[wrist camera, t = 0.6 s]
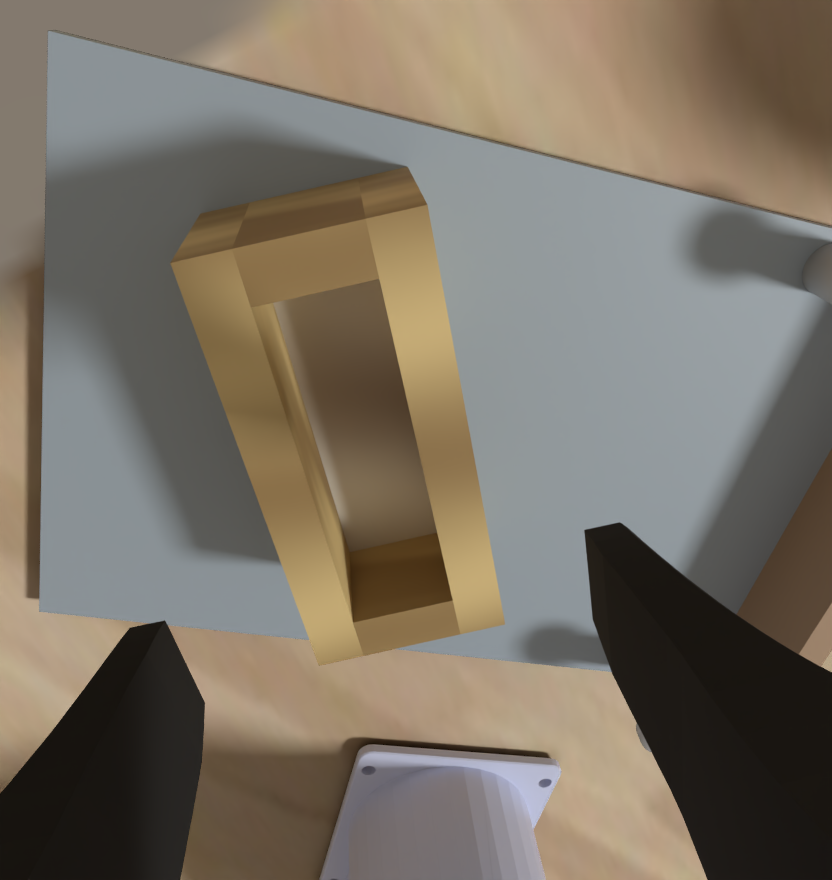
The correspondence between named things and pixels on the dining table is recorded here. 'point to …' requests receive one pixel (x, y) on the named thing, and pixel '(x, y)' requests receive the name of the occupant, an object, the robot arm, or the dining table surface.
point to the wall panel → (477, 354)
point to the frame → (347, 408)
